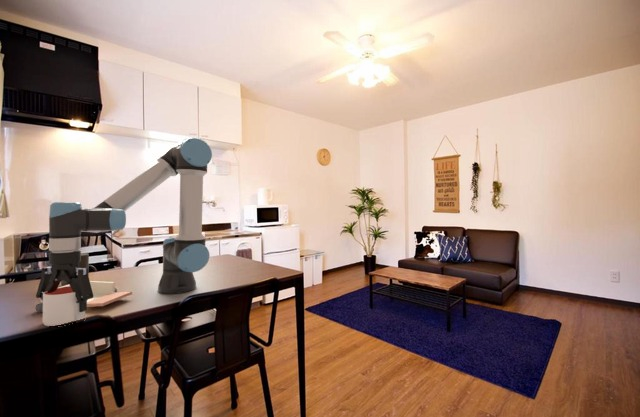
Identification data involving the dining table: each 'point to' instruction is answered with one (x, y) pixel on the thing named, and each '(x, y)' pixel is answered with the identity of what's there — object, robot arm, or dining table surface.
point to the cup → (59, 306)
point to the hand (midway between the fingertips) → (64, 320)
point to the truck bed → (97, 289)
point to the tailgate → (108, 299)
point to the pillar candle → (80, 265)
